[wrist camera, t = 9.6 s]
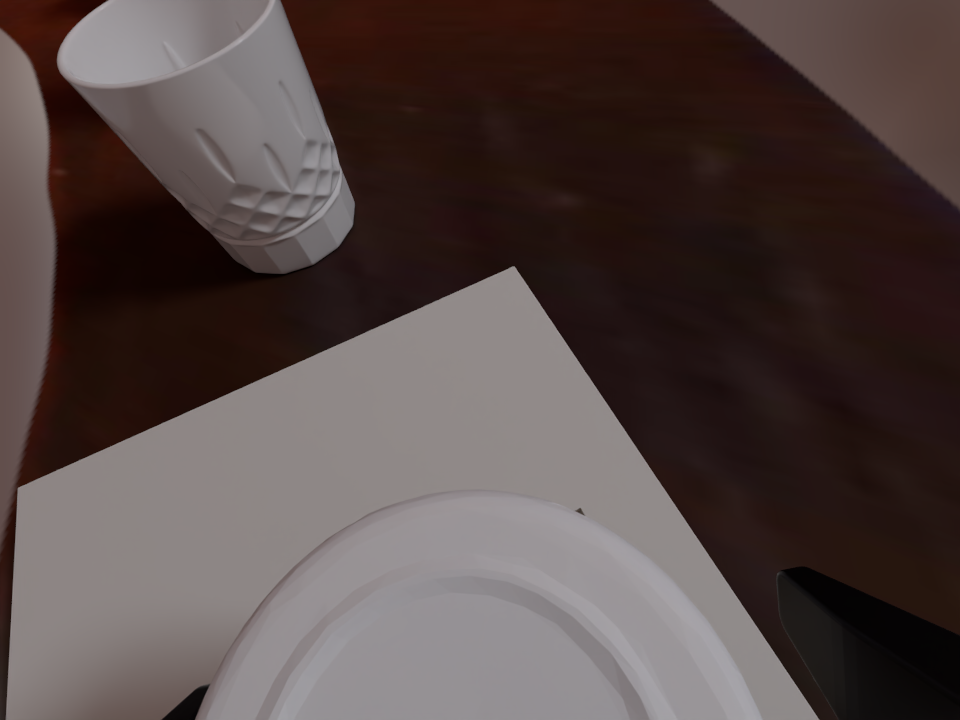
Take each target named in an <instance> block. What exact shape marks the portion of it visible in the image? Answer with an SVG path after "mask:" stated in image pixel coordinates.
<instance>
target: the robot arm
mask: <svg viewBox="0 0 960 720" xmlns="http://www.w3.org/2000/svg"><path fill="white" fill-rule="evenodd" d="M777 592H778V604H779V614H780V619H781V622H782V624H783V627H784V629H785V631H786V633H787V634H788V636H789V638H790V639H791V641H792V643H793V644H794V646H795V648H796V649H797V651H798V653H799V654H800V656H801V658H802V659H803V661H804V663H805V664H806V666H807V668H808V669H809V671H810V673H811V674H812V676H813V678H814V679H815V681H816V683H817V684H818V686H819V688H820V689H821V691H822V693H823V694H824V696H825V698H826V699H827V701H828V703H829V704H830V706H831V708H832V709H833V711H834V713H835V714H836V716H837V718H838V719H839V720H960V635H958V634H955V633H953V632H951V631H949V630H946V629H944V628H942V627H940V626H937V625H935V624H933V623H931V622H929V621H926V620H924V619H922V618H920V617H917V616H915V615H913V614H911V613H908V612H906V611H904V610H902V609H900V608H897V607H895V606H893V605H891V604H888V603H886V602H884V601H882V600H879V599H877V598H875V597H873V596H871V595H868V594H866V593H864V592H862V591H859V590H857V589H855V588H853V587H850V586H848V585H846V584H844V583H841V582H839V581H837V580H835V579H833V578H830V577H828V576H826V575H824V574H821V573H819V572H817V571H815V570H812V569H810V568H807V567H795V568H790V569H785V570H781V571H780V572H778V574H777ZM209 686H210V684H206V685H202V686H200V687H198V688H196V689H195V690H194V691H193V692H192V693H191V694H189V695H188V696H187V697H186V698H185V699H184V700H183V701H182V702H180V703H179V704H178V705H177V706H176V707H175V708H174V709H173V710H171V711H170V712H169V713H168V714H167V715H166V716H165V717H164V718H163V719H161V720H195V719H196V716H197V714H198V711H199V709H200V706H201V704H202V702H203V699H204V697H205V694H206V692H207V690H208V688H209Z"/></svg>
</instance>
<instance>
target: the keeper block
mask: <svg viewBox="0 0 960 720" xmlns="http://www.w3.org/2000/svg"><path fill="white" fill-rule="evenodd" d="M474 489H484V490H495V491H507V492H513V493H518V494H523V495H528V496H533V497H537V498H541V499H545V500H548V501H551V502H554V503H557V504H559V505H562V506H565V507H567V508H570V509H572V510H574V511H576V512H578V513H580V514H582V515H584V516H586V517H588V518H591V519H593V520H594V521H596V522H598V523H600V524H601V525H603V526H605V527H607V528H608V529H610V530H611V531H613V532H614V533H616V534H617V535H619V536H620V537H622V538H623V539H625V540H626V541H628V542H629V543H631V544H632V545H633V546H635V547H636V548H637V549H638V550H640V551H641V552H642V553H644V554H645V555H646V556H647V557H649V558H650V559H651V560H652V561H653V562H654V563H655V564H656V565H657V566H658V567H660V568H661V569H662V570H663V571H664V572H665V573H666V574H667V575H668V576H669V577H670V578H671V579H672V580H673V581H674V582H675V583H676V584H677V585H678V587H679V588H680V589H681V590H682V591H683V592H684V593H685V594H686V596H687V597H688V598H689V599H690V600H691V601H692V603H693V604H694V605H695V606H696V607H697V609H698V610H699V611H700V612H701V613H702V615H703V616H704V617H705V618H706V619H707V620H708V622H709V623H710V625H711V626H712V628H713V629H714V631H715V632H716V634H717V635H718V637H719V638H720V640H721V641H722V643H723V644H724V646H725V647H726V649H727V651H728V652H729V654H730V656H731V657H732V659H733V660H734V662H735V664H736V665H737V667H738V668H739V670H740V672H741V674H742V676H743V678H744V681H745V683H746V685H747V687H748V689H749V691H750V693H751V695H752V697H753V699H754V702H755V704H756V706H757V708H758V710H759V712H760V714H761V716H762V719H763V720H819V719H818V717H817V716H816V714H815V713H814V711H813V710H812V708H811V707H810V705H809V704H808V702H807V701H806V700H805V698H804V697H803V695H802V694H801V692H800V691H799V689H798V688H797V686H796V685H795V683H794V682H793V680H792V679H791V677H790V676H789V674H788V673H787V671H786V670H785V668H784V667H783V665H782V664H781V662H780V661H779V659H778V658H777V656H776V655H775V653H774V652H773V650H772V649H771V647H770V646H769V644H768V643H767V641H766V640H765V639H764V637H763V636H762V634H761V633H760V631H759V630H758V628H757V627H756V625H755V624H754V622H753V621H752V619H751V618H750V616H749V615H748V613H747V612H746V610H745V609H744V607H743V606H742V604H741V603H740V601H739V600H738V598H737V597H736V595H735V594H734V592H733V591H732V589H731V588H730V586H729V585H728V583H727V582H726V580H725V579H724V578H723V576H722V575H721V573H720V572H719V570H718V569H717V567H716V566H715V564H714V563H713V561H712V560H711V558H710V557H709V555H708V554H707V552H706V551H705V549H704V548H703V546H702V545H701V543H700V542H699V540H698V539H697V537H696V536H695V534H694V533H693V531H692V530H691V528H690V527H689V525H688V524H687V522H686V521H685V519H684V518H683V517H682V515H681V514H680V512H679V511H678V509H677V508H676V506H675V505H674V503H673V502H672V500H671V499H670V497H669V496H668V494H667V493H666V491H665V490H664V488H663V487H662V485H661V484H660V482H659V481H658V479H657V478H656V476H655V475H654V473H653V472H652V470H651V469H650V467H649V466H648V464H647V463H646V461H645V460H644V458H643V457H642V456H641V454H640V453H639V451H638V450H637V448H636V447H635V445H634V444H633V442H632V441H631V439H630V438H629V436H628V435H627V433H626V432H625V430H624V429H623V427H622V426H621V424H620V423H619V421H618V420H617V418H616V417H615V415H614V414H613V412H612V411H611V409H610V408H609V406H608V405H607V403H606V402H605V400H604V399H603V397H602V396H601V395H600V393H599V392H598V390H597V389H596V387H595V386H594V384H593V383H592V381H591V380H590V378H589V377H588V375H587V374H586V372H585V371H584V369H583V368H582V366H581V365H580V363H579V362H578V360H577V359H576V357H575V356H574V354H573V353H572V351H571V350H570V348H569V347H568V345H567V344H566V342H565V341H564V339H563V338H562V336H561V335H560V334H559V332H558V331H557V329H556V328H555V326H554V325H553V323H552V322H551V320H550V319H549V317H548V316H547V314H546V313H545V311H544V310H543V308H542V307H541V305H540V304H539V302H538V301H537V299H536V298H535V296H534V295H533V293H532V292H531V290H530V289H529V287H528V286H527V284H526V283H525V281H524V280H523V278H522V277H521V275H520V274H519V273H518V271H517V270H516V268H515V267H511V268H509V269H507V270H505V271H503V272H500V273H498V274H496V275H494V276H491V277H489V278H487V279H485V280H482V281H480V282H478V283H476V284H473V285H471V286H469V287H467V288H464V289H462V290H460V291H458V292H456V293H453V294H451V295H449V296H447V297H444V298H442V299H440V300H438V301H435V302H433V303H431V304H429V305H426V306H424V307H422V308H420V309H417V310H415V311H413V312H411V313H409V314H406V315H404V316H402V317H400V318H397V319H395V320H393V321H391V322H388V323H386V324H384V325H382V326H379V327H377V328H375V329H373V330H370V331H368V332H366V333H364V334H362V335H359V336H357V337H355V338H353V339H350V340H348V341H346V342H344V343H341V344H339V345H337V346H335V347H332V348H330V349H328V350H326V351H323V352H321V353H319V354H317V355H315V356H312V357H310V358H308V359H306V360H303V361H301V362H299V363H297V364H294V365H292V366H290V367H288V368H285V369H283V370H281V371H279V372H276V373H274V374H272V375H270V376H268V377H265V378H263V379H261V380H259V381H256V382H254V383H252V384H250V385H247V386H245V387H243V388H241V389H238V390H236V391H234V392H232V393H230V394H227V395H225V396H223V397H221V398H218V399H216V400H214V401H212V402H209V403H207V404H205V405H203V406H200V407H198V408H196V409H194V410H191V411H189V412H187V413H185V414H183V415H180V416H178V417H176V418H174V419H171V420H169V421H167V422H165V423H162V424H160V425H158V426H156V427H153V428H151V429H149V430H147V431H144V432H142V433H140V434H138V435H136V436H133V437H131V438H129V439H127V440H124V441H122V442H120V443H118V444H115V445H113V446H111V447H109V448H106V449H104V450H102V451H100V452H97V453H95V454H93V455H91V456H89V457H86V458H84V459H82V460H80V461H77V462H75V463H73V464H71V465H68V466H66V467H64V468H62V469H59V470H57V471H55V472H53V473H50V474H48V475H46V476H44V477H42V478H39V479H37V480H35V481H33V482H30V483H28V484H26V485H24V486H21V487H19V488H18V499H17V518H16V537H15V556H14V575H13V594H12V612H11V631H10V650H9V669H8V688H7V707H6V720H161V719H163V718H164V717H165V716H166V715H167V714H168V713H169V712H170V711H171V710H173V709H174V708H175V707H176V706H177V705H178V704H179V703H180V702H182V701H183V700H184V699H185V698H186V697H187V696H188V695H189V694H191V693H192V692H193V691H194V690H195V689H196V688H198V687H200V686H202V685H206V684H211V682H212V680H213V678H214V676H215V674H216V672H217V670H218V668H219V666H220V664H221V662H222V660H223V659H224V657H225V655H226V653H227V652H228V650H229V648H230V647H231V645H232V644H233V642H234V641H235V639H236V637H237V636H238V634H239V633H240V631H241V630H242V628H243V626H244V625H245V623H246V622H247V621H248V619H249V618H250V617H251V615H252V614H253V613H254V611H255V610H256V609H257V607H258V606H259V605H260V603H261V602H262V601H263V600H264V598H265V597H266V596H267V595H268V594H269V593H270V592H271V590H272V589H273V588H274V587H275V586H276V585H277V584H278V582H279V581H280V580H281V579H282V578H283V577H284V576H285V575H286V574H287V573H288V572H289V571H290V570H291V569H292V568H293V567H294V566H295V565H296V564H298V563H299V562H300V561H301V560H302V559H303V558H304V557H306V556H307V555H308V554H309V553H310V552H311V551H313V550H314V549H315V548H316V547H318V546H319V545H320V544H321V543H323V542H324V541H325V540H326V539H328V538H329V537H331V536H332V535H334V534H335V533H337V532H339V531H340V530H342V529H343V528H345V527H347V526H348V525H350V524H353V523H355V522H356V521H358V520H359V519H361V518H362V517H364V516H365V515H367V514H368V513H371V512H373V511H376V510H378V509H381V508H383V507H386V506H389V505H392V504H395V503H398V502H401V501H405V500H409V499H412V498H416V497H420V496H423V495H427V494H432V493H439V492H448V491H456V490H474Z"/></svg>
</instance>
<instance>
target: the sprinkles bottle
mask: <svg viewBox="0 0 960 720" xmlns="http://www.w3.org/2000/svg"><path fill="white" fill-rule="evenodd" d="M195 720H763V719H762V716H761V714H760V712H759V710H758V708H757V706H756V704H755V702H754V699H753V697H752V695H751V693H750V691H749V689H748V687H747V685H746V683H745V681H744V678H743V676H742V674H741V672H740V670H739V668H738V667H737V665H736V664H735V662H734V660H733V659H732V657H731V656H730V654H729V652H728V651H727V649H726V647H725V646H724V644H723V643H722V641H721V640H720V638H719V637H718V635H717V634H716V632H715V631H714V629H713V628H712V626H711V625H710V623H709V622H708V620H707V619H706V618H705V617H704V616H703V615H702V613H701V612H700V611H699V610H698V609H697V607H696V606H695V605H694V604H693V603H692V601H691V600H690V599H689V598H688V597H687V596H686V594H685V593H684V592H683V591H682V590H681V589H680V588H679V587H678V585H677V584H676V583H675V582H674V581H673V580H672V579H671V578H670V577H669V576H668V575H667V574H666V573H665V572H664V571H663V570H662V569H661V568H660V567H658V566H657V565H656V564H655V563H654V562H653V561H652V560H651V559H650V558H649V557H647V556H646V555H645V554H644V553H642V552H641V551H640V550H638V549H637V548H636V547H635V546H633V545H632V544H631V543H629V542H628V541H626V540H625V539H623V538H622V537H620V536H619V535H617V534H616V533H614V532H613V531H611V530H610V529H608V528H607V527H605V526H603V525H601V524H600V523H598V522H596V521H594V520H593V519H591V518H588V517H586V516H584V515H582V514H580V513H578V512H576V511H574V510H572V509H570V508H567V507H565V506H562V505H559V504H557V503H554V502H551V501H548V500H545V499H541V498H537V497H533V496H528V495H523V494H518V493H513V492H507V491H495V490H484V489H474V490H456V491H448V492H439V493H432V494H427V495H423V496H420V497H416V498H412V499H409V500H405V501H401V502H398V503H395V504H392V505H389V506H386V507H383V508H381V509H378V510H376V511H373V512H371V513H368V514H367V515H365V516H364V517H362V518H361V519H359V520H358V521H356V522H355V523H353V524H350V525H348V526H347V527H345V528H343V529H342V530H340V531H339V532H337V533H335V534H334V535H332V536H331V537H329V538H328V539H326V540H325V541H324V542H323V543H321V544H320V545H319V546H318V547H316V548H315V549H314V550H313V551H311V552H310V553H309V554H308V555H307V556H306V557H304V558H303V559H302V560H301V561H300V562H299V563H298V564H296V565H295V566H294V567H293V568H292V569H291V570H290V571H289V572H288V573H287V574H286V575H285V576H284V577H283V578H282V579H281V580H280V581H279V582H278V584H277V585H276V586H275V587H274V588H273V589H272V590H271V592H270V593H269V594H268V595H267V596H266V597H265V598H264V600H263V601H262V602H261V603H260V605H259V606H258V607H257V609H256V610H255V611H254V613H253V614H252V615H251V617H250V618H249V619H248V621H247V622H246V623H245V625H244V626H243V628H242V630H241V631H240V633H239V634H238V636H237V637H236V639H235V641H234V642H233V644H232V645H231V647H230V648H229V650H228V652H227V653H226V655H225V657H224V659H223V660H222V662H221V664H220V666H219V668H218V670H217V672H216V674H215V676H214V678H213V680H212V682H211V684H210V686H209V688H208V690H207V692H206V694H205V697H204V699H203V702H202V704H201V706H200V709H199V711H198V714H197V716H196V719H195Z"/></svg>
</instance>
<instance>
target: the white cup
mask: <svg viewBox="0 0 960 720" xmlns="http://www.w3.org/2000/svg"><path fill="white" fill-rule="evenodd" d="M57 65H58V69H59V71H60V73H61V74H62V76H63V77H64V78H65V79H66V80H67V81H68V82H69V83H70V84H71V85H72V87H73V88H74V89H75V90H76V91H77V92H78V93H79V94H80V95H81V96H82V97H83V99H84V100H85V101H86V102H87V103H88V104H89V105H90V106H91V107H92V108H93V109H94V110H95V112H96V113H97V114H98V115H99V116H100V117H101V118H102V119H103V120H104V121H105V123H106V124H107V125H108V126H109V127H110V128H111V129H112V130H113V131H114V132H115V134H116V135H117V136H118V137H119V138H120V139H121V140H122V141H123V142H124V143H125V145H126V146H127V147H128V148H129V149H130V150H131V151H132V152H133V153H134V154H135V156H136V157H137V158H138V159H139V160H140V161H141V162H142V163H143V164H144V165H145V167H146V168H147V169H148V170H149V171H150V172H151V173H152V174H153V175H154V176H155V178H156V179H157V180H158V181H159V182H160V183H161V184H162V185H163V186H164V187H165V188H166V189H167V190H168V191H169V192H170V193H171V194H172V195H173V196H174V197H175V198H176V199H177V200H178V201H179V202H180V203H181V204H182V205H183V206H184V208H185V209H186V210H187V211H188V212H189V213H190V214H191V215H192V216H193V217H194V218H195V219H196V220H197V221H198V222H199V223H200V224H201V225H202V226H203V227H204V228H205V229H207V230H208V231H209V232H210V233H211V234H212V235H213V236H214V238H215V239H216V240H217V241H218V242H219V243H220V244H221V245H222V247H223V248H224V249H225V250H226V251H227V252H228V253H229V254H230V256H231V257H232V258H233V259H234V260H235V261H237V262H238V263H240V264H242V265H243V266H245V267H247V268H248V269H250V270H252V271H254V272H255V273H270V274H286V273H289V272H293V271H296V270H299V269H302V268H305V267H309V266H312V265H314V264H315V263H317V262H318V261H320V260H321V259H323V258H324V257H326V256H327V255H328V254H330V253H331V252H333V251H334V250H335V249H337V248H338V247H339V245H340V244H341V243H342V241H343V240H344V238H345V237H346V235H347V234H348V232H349V231H350V229H351V228H352V226H353V219H354V209H355V203H354V200H353V197H352V195H351V192H350V190H349V187H348V185H347V182H346V179H345V177H344V175H343V172H342V169H341V167H340V165H339V161H338V156H337V152H336V147H335V145H334V142H333V139H332V136H331V134H330V131H329V129H328V126H327V124H326V120H325V117H324V114H323V111H322V108H321V105H320V103H319V100H318V97H317V95H316V92H315V89H314V87H313V84H312V82H311V79H310V76H309V74H308V71H307V69H306V66H305V63H304V61H303V58H302V56H301V53H300V50H299V48H298V45H297V43H296V40H295V37H294V35H293V32H292V29H291V27H290V24H289V22H288V19H287V16H286V14H285V11H284V8H283V6H282V3H281V0H108V1H106V2H105V3H103V4H102V5H100V6H99V7H97V8H96V9H94V10H93V11H92V12H90V13H89V14H88V15H87V16H85V17H84V18H83V19H82V20H81V21H80V22H79V23H78V24H77V25H76V26H75V27H74V28H73V29H72V30H71V31H70V32H69V34H68V35H67V36H66V38H65V39H64V41H63V42H62V44H61V46H60V49H59V52H58V55H57Z"/></svg>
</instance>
